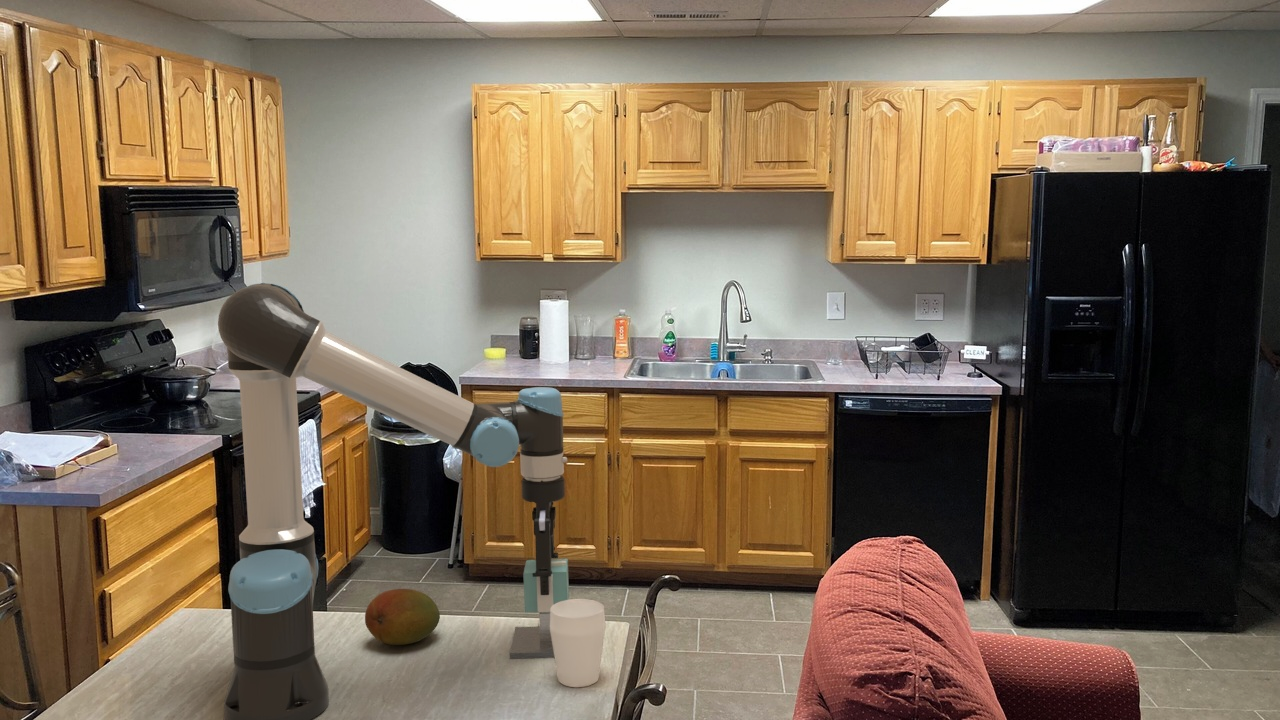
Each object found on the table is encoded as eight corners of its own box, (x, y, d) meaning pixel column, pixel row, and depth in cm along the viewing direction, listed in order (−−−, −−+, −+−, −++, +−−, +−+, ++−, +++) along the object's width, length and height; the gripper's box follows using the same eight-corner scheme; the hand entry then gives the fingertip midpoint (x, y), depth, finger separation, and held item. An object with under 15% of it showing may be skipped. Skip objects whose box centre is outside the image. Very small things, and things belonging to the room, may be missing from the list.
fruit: (355, 647, 179) (353, 593, 178) (404, 624, 190) (402, 573, 189) (405, 660, 173) (403, 604, 172) (452, 635, 184) (451, 582, 183)
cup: (598, 693, 160) (597, 619, 158) (543, 688, 161) (542, 616, 160) (611, 669, 168) (610, 600, 167) (559, 665, 170) (558, 597, 169)
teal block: (524, 612, 175) (523, 569, 174) (528, 597, 182) (526, 557, 181) (567, 610, 175) (566, 568, 174) (569, 596, 183) (567, 555, 182)
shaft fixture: (509, 658, 173) (508, 624, 173) (515, 632, 185) (514, 600, 185) (579, 656, 174) (579, 623, 173) (581, 630, 186) (580, 599, 185)
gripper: (562, 489, 166) (566, 623, 169) (566, 463, 186) (569, 583, 189) (516, 491, 166) (521, 625, 169) (525, 464, 186) (529, 584, 189)
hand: (546, 602), depth 179 cm, fingers closed on teal block, 7 cm apart
